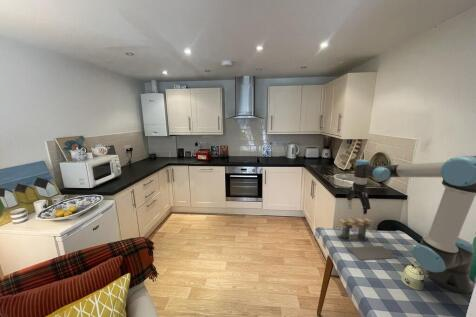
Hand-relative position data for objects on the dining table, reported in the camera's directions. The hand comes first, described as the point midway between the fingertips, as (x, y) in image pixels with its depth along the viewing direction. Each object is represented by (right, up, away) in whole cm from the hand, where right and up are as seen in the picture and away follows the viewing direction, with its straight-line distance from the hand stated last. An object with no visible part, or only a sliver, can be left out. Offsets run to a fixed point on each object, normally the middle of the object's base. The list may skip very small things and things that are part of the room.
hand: (355, 213), depth 131 cm
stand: (0, -18, +3) cm, 18 cm away
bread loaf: (0, -9, +1) cm, 9 cm away
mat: (+2, -20, -14) cm, 25 cm away
